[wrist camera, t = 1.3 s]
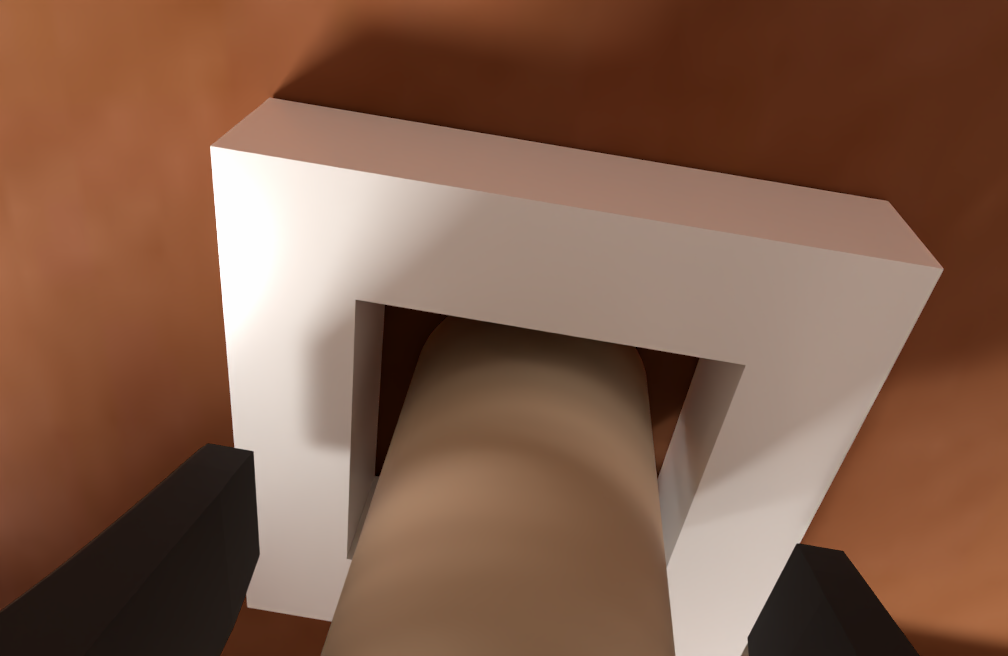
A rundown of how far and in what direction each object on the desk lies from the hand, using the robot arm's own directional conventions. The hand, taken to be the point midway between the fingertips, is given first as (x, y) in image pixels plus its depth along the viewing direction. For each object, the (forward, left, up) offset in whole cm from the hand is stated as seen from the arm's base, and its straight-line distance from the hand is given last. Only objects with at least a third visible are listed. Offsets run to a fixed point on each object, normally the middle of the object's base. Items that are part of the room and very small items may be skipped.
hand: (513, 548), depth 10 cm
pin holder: (0, 0, -3) cm, 3 cm away
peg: (0, 0, -3) cm, 3 cm away
